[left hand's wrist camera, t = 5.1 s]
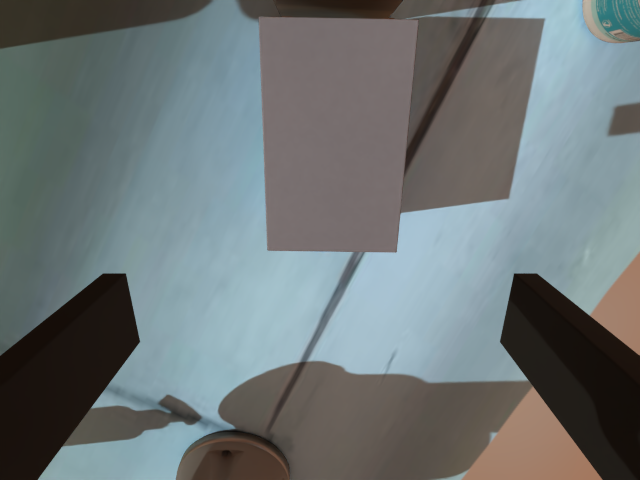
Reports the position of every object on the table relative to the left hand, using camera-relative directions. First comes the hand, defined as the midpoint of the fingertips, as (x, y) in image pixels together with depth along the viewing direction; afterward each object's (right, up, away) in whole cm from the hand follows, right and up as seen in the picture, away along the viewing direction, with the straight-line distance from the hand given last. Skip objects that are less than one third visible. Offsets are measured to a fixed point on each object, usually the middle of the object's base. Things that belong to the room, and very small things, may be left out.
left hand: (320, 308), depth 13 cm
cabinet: (+1, +12, +23) cm, 26 cm away
